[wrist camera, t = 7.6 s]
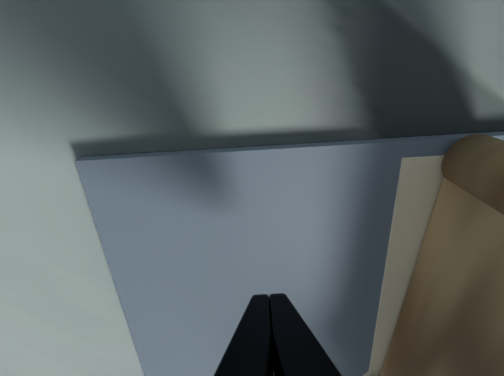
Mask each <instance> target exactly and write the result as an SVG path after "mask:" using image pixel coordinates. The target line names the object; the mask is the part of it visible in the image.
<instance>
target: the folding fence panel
mask: <svg viewBox="0 0 504 376" xmlns="http://www.w3.org/2000/svg"><path fill="white" fill-rule="evenodd" d="M442 174H443V176H444V179H443V182H442V185H441V188H440V191H439V195H438V198H437V201H436V204H435V207H434V210H433V213H432V216H431V219H430V222H429V225H428V228H427V231H426V235H425V238H424V241H423V244H422V247H421V250H420V253H419V256H418V259H417V262H416V265H415V268H414V271H413V275H412V278H411V281H410V284H409V287H408V290H407V293H406V296H405V299H404V302H403V305H402V308H401V311H400V314H399V318H398V321H397V324H396V327H395V330H394V333H393V336H392V339H391V342H390V345H389V348H388V351H387V354H386V358H385V361H384V364H383V367H382V370H381V373H380V376H504V140H501V139H498V138H495V137H492V136H489V135H486V134H472V135H468V136H466V137H463V138H461V139H460V140H458V141H457V142H455V143H454V144H453V145H452V146H451V147H450V148H449V149H448V151H447V152H446V154H445V156H444V158H443V161H442Z"/></svg>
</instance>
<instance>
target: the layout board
mask: <svg viewBox="0 0 504 376" xmlns="http://www.w3.org/2000/svg"><path fill="white" fill-rule="evenodd" d="M472 134H486V135H489V136H492V137H495V138H498V139H501V140H504V131H500V132H484V133H467V134H451V135H434V136H418V137H401V138H385V139H368V140H352V141H335V142H319V143H302V144H286V145H269V146H253V147H236V148H220V149H203V150H187V151H170V152H154V153H137V154H121V155H104V156H88V157H81V158H79V159H77V160H76V161H75V165H76V168H77V171H78V174H79V177H80V180H81V183H82V186H83V189H84V192H85V195H86V198H87V201H88V204H89V207H90V210H91V213H92V216H93V219H94V223H95V226H96V229H97V232H98V235H99V238H100V241H101V244H102V247H103V250H104V253H105V256H106V259H107V262H108V265H109V268H110V271H111V274H112V278H113V281H114V284H115V287H116V290H117V293H118V296H119V299H120V302H121V305H122V308H123V311H124V314H125V317H126V320H127V323H128V326H129V329H130V332H131V336H132V339H133V342H134V345H135V348H136V351H137V354H138V357H139V360H140V363H141V366H142V369H143V372H144V375H145V376H214V374H215V371H216V369H217V367H218V365H219V363H220V361H221V359H222V357H223V355H224V353H225V351H226V349H227V347H228V345H229V343H230V341H231V338H232V336H233V334H234V332H235V330H236V328H237V326H238V324H239V322H240V320H241V318H242V316H243V314H244V312H245V310H246V308H247V305H248V303H249V301H250V299H251V297H252V296H253V295H255V294H268V296H269V295H270V294H274V293H284V294H286V295H287V297H288V298H289V300H290V301H291V302H292V304H293V305H294V307H295V308H296V310H297V311H298V313H299V314H300V315H301V317H302V318H303V320H304V321H305V323H306V324H307V326H308V327H309V328H310V330H311V331H312V333H313V334H314V336H315V337H316V339H317V340H318V341H319V343H320V344H321V346H322V347H323V349H324V350H325V352H326V353H327V355H328V356H329V357H330V359H331V360H332V362H333V363H334V365H335V366H336V368H337V369H338V370H339V372H340V373H341V375H342V376H380V373H381V370H382V367H383V364H384V361H385V358H386V354H387V351H388V348H389V345H390V342H391V339H392V336H393V333H394V330H395V327H396V324H397V321H398V318H399V314H400V311H401V308H402V305H403V302H404V299H405V296H406V293H407V290H408V287H409V284H410V281H411V278H412V275H413V271H414V268H415V265H416V262H417V259H418V256H419V253H420V250H421V247H422V244H423V241H424V238H425V235H426V231H427V228H428V225H429V222H430V219H431V216H432V213H433V210H434V207H435V204H436V201H437V198H438V195H439V191H440V188H441V185H442V182H443V179H444V176H443V174H442V161H443V158H444V156H445V154H446V152H447V151H448V149H449V148H450V147H451V146H452V145H453V144H454V143H455V142H457V141H458V140H460V139H461V138H463V137H466V136H468V135H472Z"/></svg>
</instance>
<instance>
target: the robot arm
mask: <svg viewBox="0 0 504 376" xmlns="http://www.w3.org/2000/svg"><path fill="white" fill-rule="evenodd" d="M214 376H342V375H341V373H340V372H339V370H338V369H337V368H336V366H335V365H334V363H333V362H332V360H331V359H330V357H329V356H328V355H327V353H326V352H325V350H324V349H323V347H322V346H321V344H320V343H319V341H318V340H317V339H316V337H315V336H314V334H313V333H312V331H311V330H310V328H309V327H308V326H307V324H306V323H305V321H304V320H303V318H302V317H301V315H300V314H299V313H298V311H297V310H296V308H295V307H294V305H293V304H292V302H291V301H290V300H289V298H288V297H287V295H286V294H284V293H274V294H270V295H269V296H268V294H255V295H253V296H252V297H251V299H250V301H249V303H248V305H247V308H246V310H245V312H244V314H243V316H242V318H241V320H240V322H239V324H238V326H237V328H236V330H235V332H234V334H233V336H232V338H231V341H230V343H229V345H228V347H227V349H226V351H225V353H224V355H223V357H222V359H221V361H220V363H219V365H218V367H217V369H216V371H215V374H214Z"/></svg>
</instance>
